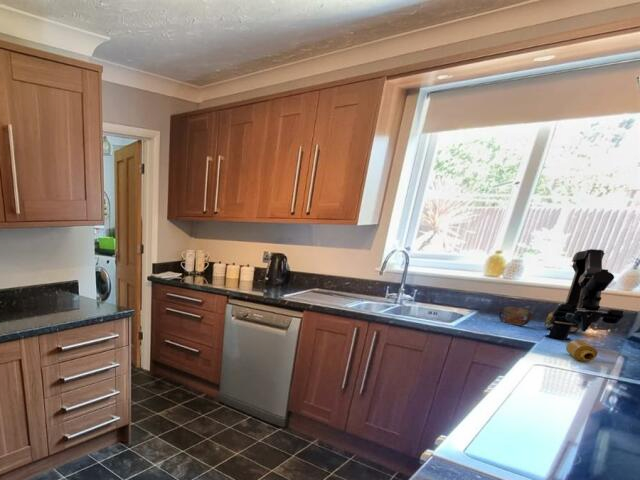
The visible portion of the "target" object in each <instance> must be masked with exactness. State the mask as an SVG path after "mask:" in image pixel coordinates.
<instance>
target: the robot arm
mask: <svg viewBox="0 0 640 480" xmlns="http://www.w3.org/2000/svg"><path fill="white" fill-rule="evenodd" d="M604 256H605V250H604V249H597V248H596V249H592V248H589V249H586V250H580V251H577V252H575V253H574V255H573V257H572V260H571V262H572V266H571V268H572V269H573V271H574V275H573V278H572V281H571V284H570V287H569V290H568V293H567V297H566V299H565V303H559V304H557V305H556V306H555V308H554V310H553V311H552V312H553V315H552V316H553V317H552V318H551V321H550V323H551V324H554V325H553V327H552V329H550V331H549V333H548V334H545V335H544V337H547V338H552V339H555V340H560V341H562V340H563V341H566V340H571V337H569V335H570V333H571V332H570V330H571V328H572V327H578V325H579V326H580V330H581V332H587V330H588V329H589V328H590V326H591V325H592V323H593V324H595V323H597V322H598V321H599V320H601V318H602V322H603V323H604V324H610V325H615V324H618V323H619V322H620V321H621V320H622V319H623V318H624V317H625V314H626V313H625V311H624V310H623V309H614V308H609V309H608V311H601V310H600V309H601V305H600V303H601V300H602V297H601V296H602V292H604V291H605V290H606V289H607V288H608V287H609V285H610V284H611V283H612V282H613V281H614V279H615V275H614V274H613V273H612V272H610V271H609V269H606V268H605V269H603V260H604ZM555 321H558V322H555ZM563 322H566V323H563ZM571 323H572V324H571Z"/></svg>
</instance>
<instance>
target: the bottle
mask: <svg viewBox="0 0 640 480" xmlns="http://www.w3.org/2000/svg"><path fill="white" fill-rule="evenodd" d="M565 350H566V352H567V353H568V354H569V355H570V356H572V358H574V359H575V360H576V361H579V362H584V363H586V362H590V361H593V360H594V359H595V358H597V355H598V351H597V349H596V347H594V346H592V345H591V344H589V343H588V342H586V341H585V340H582V339H575V340H571V341H569V342H568V343H567V345H566V346H565Z"/></svg>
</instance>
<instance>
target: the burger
mask: <svg viewBox="0 0 640 480" xmlns="http://www.w3.org/2000/svg"><path fill="white" fill-rule="evenodd" d="M552 315H553V311H551V312H549V313H548V316H547V317H546V318H545V321H544V326H545V327H544V328H546V329H548V330H551V329H552V327H553V325H554V324H551V323H550V321H551V318H552V317H553V316H552ZM555 322H558V321H555ZM563 323H566V322H563ZM571 324H572V323H571ZM579 330H581V328H580V326H579V325H578V327H572V328H571V330H570V332H569V333H576V332H578V331H579Z"/></svg>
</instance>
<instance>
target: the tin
mask: <svg viewBox="0 0 640 480" xmlns="http://www.w3.org/2000/svg"><path fill="white" fill-rule="evenodd" d="M532 317H533V314H532V312H531V310H529V309H527V308H526V309H525V308H520V307H516V306H511V305H508V306H505V307H503V308H502V309H500V311H499V314H498V318H499V321H501V322H503V323H505V324H511V325H514V326H526V325H527V324H529V323H530V321H531V319H532Z"/></svg>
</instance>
